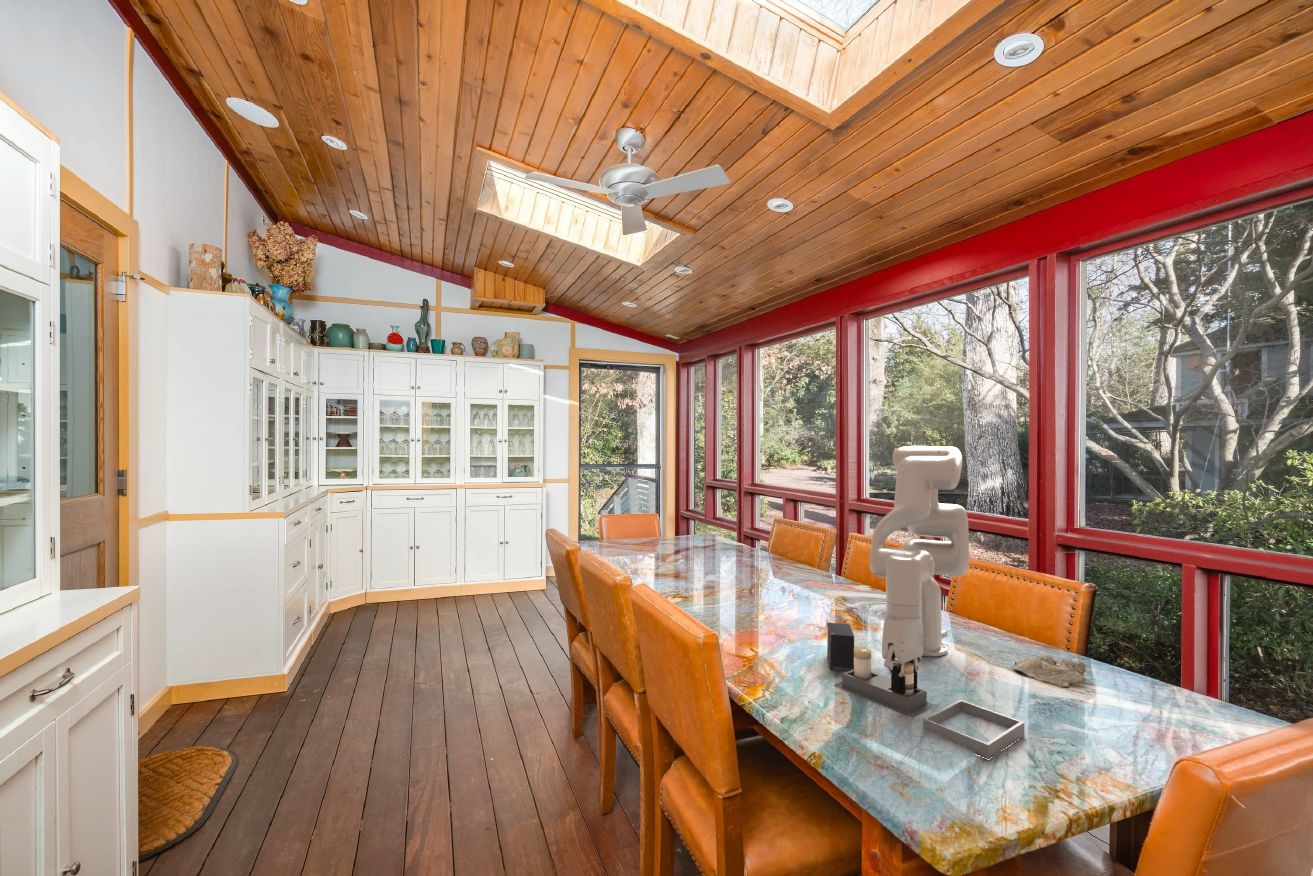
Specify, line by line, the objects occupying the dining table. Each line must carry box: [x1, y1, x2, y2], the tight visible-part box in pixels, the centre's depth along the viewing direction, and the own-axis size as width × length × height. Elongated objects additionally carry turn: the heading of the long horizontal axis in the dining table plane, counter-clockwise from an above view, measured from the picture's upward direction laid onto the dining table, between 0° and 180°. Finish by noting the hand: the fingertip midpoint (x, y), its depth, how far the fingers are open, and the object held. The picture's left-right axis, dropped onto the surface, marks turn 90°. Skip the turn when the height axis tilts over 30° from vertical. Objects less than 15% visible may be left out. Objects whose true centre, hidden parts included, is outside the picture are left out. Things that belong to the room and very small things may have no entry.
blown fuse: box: [895, 662, 914, 697], centre depth 136 cm, size 4×4×9 cm
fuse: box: [854, 646, 872, 681], centre depth 145 cm, size 4×4×9 cm
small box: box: [826, 621, 855, 672], centre depth 160 cm, size 11×6×10 cm, turn 168°
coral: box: [1011, 653, 1087, 688], centre depth 155 cm, size 18×16×5 cm
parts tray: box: [922, 699, 1025, 759], centre depth 124 cm, size 15×13×3 cm
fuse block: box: [832, 669, 938, 719], centre depth 141 cm, size 10×21×4 cm, turn 36°
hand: (904, 688), depth 136 cm, fingers closed on blown fuse, 4 cm apart
